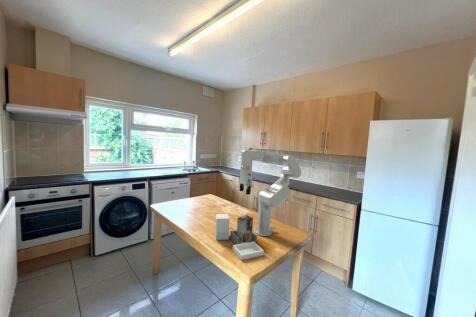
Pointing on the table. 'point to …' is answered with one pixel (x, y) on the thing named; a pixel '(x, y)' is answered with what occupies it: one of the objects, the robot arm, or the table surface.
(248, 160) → the robot arm
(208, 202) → the table surface
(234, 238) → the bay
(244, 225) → the coffee box
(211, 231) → the table surface
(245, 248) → the tray
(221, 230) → the supplement box
